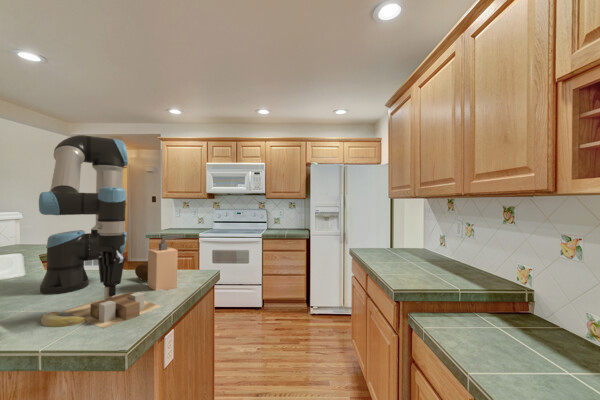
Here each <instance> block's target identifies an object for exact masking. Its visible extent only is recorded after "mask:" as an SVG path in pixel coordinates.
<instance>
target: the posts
mask: <svg viewBox="0 0 600 400" xmlns="http://www.w3.org/2000/svg"><path fill="white" fill-rule="evenodd" d="M132 293H133V294H130V300H133V301H137V302H140V310H141V309H144V301H145V293H144V292H141V291H137V292H132ZM115 307H116V302H113V301H107V302H104V303H100V304H99V321H102V322H104V323H105V322H108V321H110V320H113V319H115Z"/></svg>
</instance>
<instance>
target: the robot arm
mask: <svg viewBox="0 0 600 400" xmlns="http://www.w3.org/2000/svg"><path fill="white" fill-rule="evenodd" d="M53 150H54V151H53V159H54V160H55V162H54V163H55V164H54V168H53V174H52V180H51V186H50V190H49V191H43V192H40V193H39V196H38V210H39V213H40V214H41V215H45V216H47V215H48V216H49V215H50V216H51V215H52V216H72V215H73V216H74V215H75V216H76V215H79V216H80V215H95V225H94V226H93V227H91V228H90V232H89V233H86V231H85V230H84V229H79V230H69V231H62V232H59V233H54V234H50V236H49V237H48V238H47V242H46V272H45V274H44V275H43V276H44V277H43V279H42V281H41V283H40V286H39V292H40V294H43V295H44V294H45V295H54V294H55V295H57V294H58V295H59V294H64V293H70V292H71V293H72V292H74V291H78V290H81V289H84V288H86V287H88V286H89V285H90V280H89V275H88V274H87V272H86V270H85V262H86V261H88V262H89V261H97V263H98V273H99V281H100V283H101V284H102V285H103V286H104V291H103V292H104V295H103V296H104V297H103V299H104V300H105V299H108V298H112V297H115V296H116V295H117V294H116V293H117V291H116V290H117V289H116V287H117V286H118V285H121V283H122V282H121V281H122V277H123V271H124V266H125V262H126V260H127V257H126V256H123V255H124V253H125V250H126V245H127V239H128V238H127V237H128V235H127V234H128V233H127V231H126V205H127V204H126V203H127V194H126V193H127V191H126V189H125V188H124V187H120V186H121V185H120V184H121V183H120V182H121V181H120V180H121V172H122V171H124V169H125V167H126V166H128V162H129V161H128V149H127V146H126V144H125V142H124V141H123V140H121V139H114V138H108V137H99V136H93V135H92V136H91V135H84V134H82V135H81V134H79V135H73V136H70V137H67V138H65V139H63V140H61V142H59V143H58V144H57V145H56V146H55V148H54V149H53ZM83 163H89V164H92V165H91V166H92V169H93V170H95V171H96V181H95V182H96V184H95V186H96V188H95V190H96V191H95V192H80V185H81V184H80V183H81V173H82V172H81V171H82V164H83Z"/></svg>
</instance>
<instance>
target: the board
mask: <svg viewBox="0 0 600 400" xmlns="http://www.w3.org/2000/svg"><path fill="white" fill-rule="evenodd" d="M122 294H123V293H119V294H116V296H118V295H122ZM101 300H104V298H101V299H98V300H95V301H91V302H88V303H84V304H80V305H78V306H74V307H70V308H68V309H67V308H66V309H65V310H62V312H64V313H66V314H69V315H71V316H75V317H83V318H86V321H85V322H88V323H90V324H92V325H93V326H97V327H99V328H101V329H106V328H109V327H111V326H114V325H116V324H119V323H122V322H124V321H126V320H125V319H122V318H119V317H117V316H115V319H113V320H110V321H108V322H105V323H104V322H102V321H99V319H95V318H93V317H90V309H91V303H94V302H98V301H101ZM161 307H162V305H159V304H156V303H153V302H149V301H146V300H144V309H141V310H140V315H143V314H145V313H148V312H151V311H153V310H157V309H158V308H161Z"/></svg>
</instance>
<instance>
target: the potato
mask: <svg viewBox="0 0 600 400" xmlns="http://www.w3.org/2000/svg"><path fill="white" fill-rule="evenodd" d="M134 273H135V276H136V278H138V279H140V280H141V281H142V282H148V260H147V261H144V262H143V263H139V264H138V265H137V266H136V267H135V270H134Z"/></svg>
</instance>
